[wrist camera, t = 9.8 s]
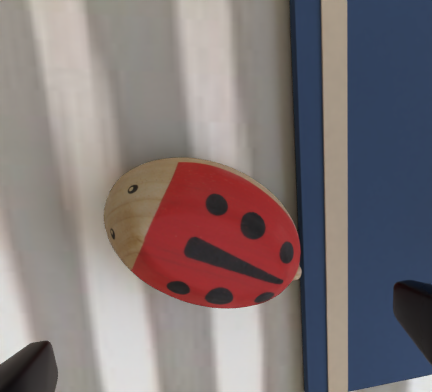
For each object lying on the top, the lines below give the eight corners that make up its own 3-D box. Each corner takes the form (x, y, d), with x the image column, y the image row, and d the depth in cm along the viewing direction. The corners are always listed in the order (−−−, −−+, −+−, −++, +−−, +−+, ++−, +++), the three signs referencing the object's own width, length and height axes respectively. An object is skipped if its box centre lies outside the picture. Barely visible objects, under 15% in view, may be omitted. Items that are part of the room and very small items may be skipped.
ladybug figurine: (133, 128, 15) (121, 129, 11) (317, 200, 17) (356, 218, 13) (87, 259, 16) (65, 296, 12) (267, 311, 18) (291, 356, 14)
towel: (288, -20, 14) (294, -27, 14) (522, -30, 16) (538, -37, 15) (304, 392, 19) (309, 401, 18) (482, 356, 21) (492, 363, 20)
